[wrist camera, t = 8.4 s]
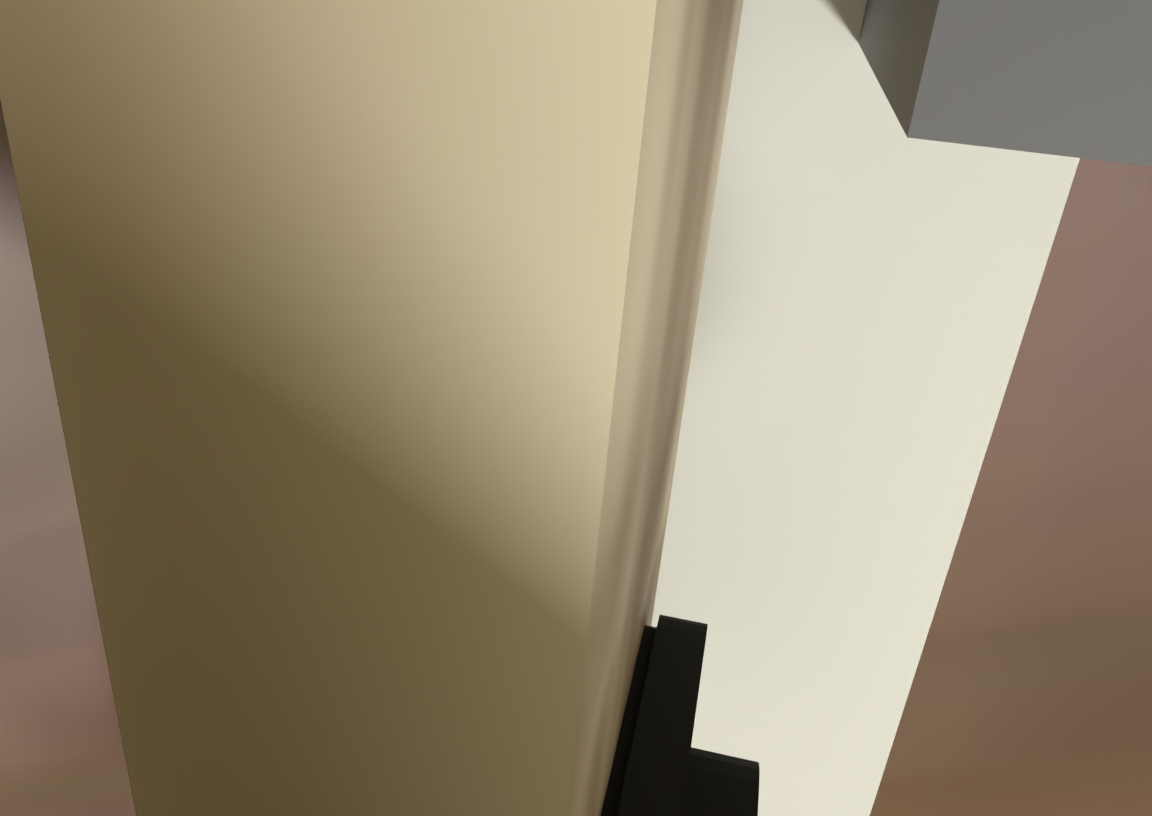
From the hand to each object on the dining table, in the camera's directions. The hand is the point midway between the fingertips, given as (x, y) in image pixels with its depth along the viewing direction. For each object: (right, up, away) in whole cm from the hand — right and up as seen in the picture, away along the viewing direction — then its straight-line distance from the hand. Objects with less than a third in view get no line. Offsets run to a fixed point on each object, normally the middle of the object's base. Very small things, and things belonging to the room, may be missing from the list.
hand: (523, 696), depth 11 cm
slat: (0, +1, +1) cm, 1 cm away
